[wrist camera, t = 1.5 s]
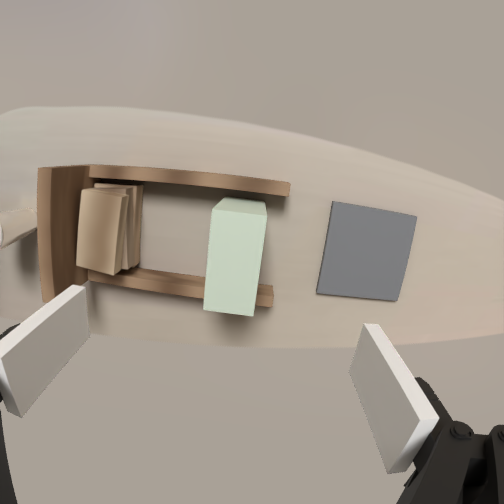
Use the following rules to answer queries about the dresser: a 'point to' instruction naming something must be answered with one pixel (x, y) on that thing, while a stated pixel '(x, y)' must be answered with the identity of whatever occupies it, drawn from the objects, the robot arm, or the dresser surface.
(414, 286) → the dresser surface
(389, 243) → the rubber pad
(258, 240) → the block
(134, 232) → the offcut stack
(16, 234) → the milkshake
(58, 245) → the rack
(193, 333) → the dresser surface
